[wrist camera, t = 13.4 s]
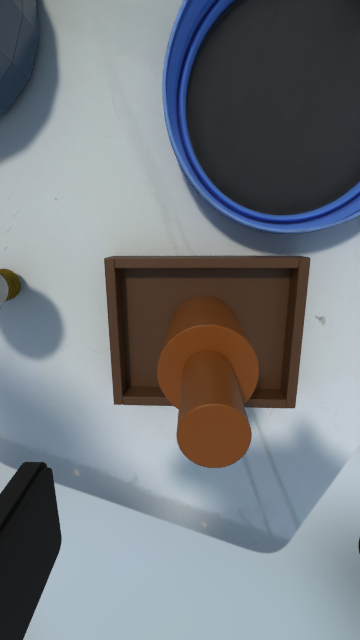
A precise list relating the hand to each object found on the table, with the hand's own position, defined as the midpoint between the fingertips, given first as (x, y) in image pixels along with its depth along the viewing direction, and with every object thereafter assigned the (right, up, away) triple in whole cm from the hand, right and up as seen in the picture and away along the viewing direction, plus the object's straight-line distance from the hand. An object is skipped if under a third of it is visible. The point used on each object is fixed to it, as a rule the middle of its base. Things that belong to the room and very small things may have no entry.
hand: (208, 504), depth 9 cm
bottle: (+1, +5, +18) cm, 18 cm away
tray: (+1, +5, +18) cm, 19 cm away
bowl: (+7, +21, +14) cm, 26 cm away
